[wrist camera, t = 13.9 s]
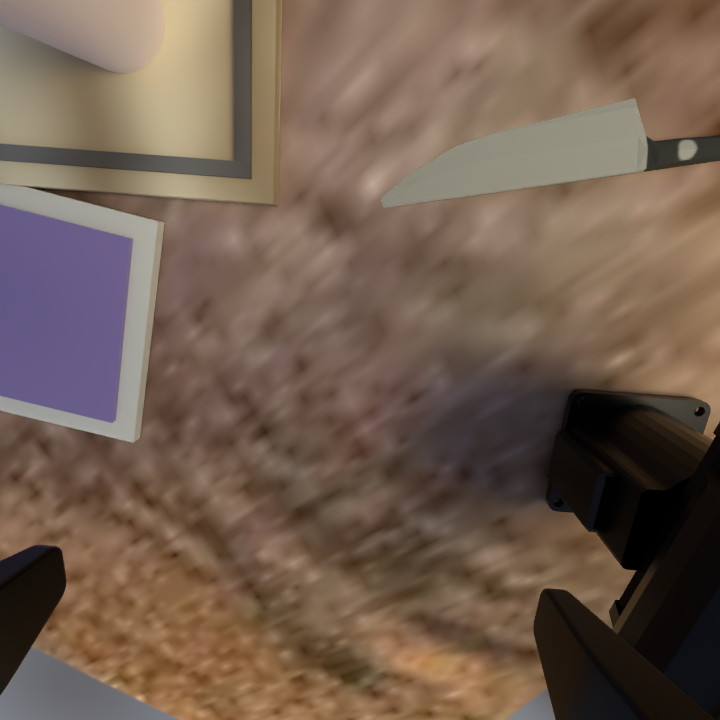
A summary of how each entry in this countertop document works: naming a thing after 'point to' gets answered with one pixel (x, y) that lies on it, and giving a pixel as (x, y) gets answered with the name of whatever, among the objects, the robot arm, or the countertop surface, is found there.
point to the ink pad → (76, 310)
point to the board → (152, 110)
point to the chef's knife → (551, 156)
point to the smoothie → (92, 29)
